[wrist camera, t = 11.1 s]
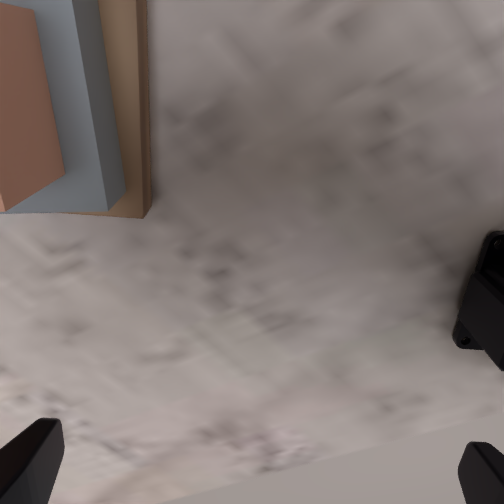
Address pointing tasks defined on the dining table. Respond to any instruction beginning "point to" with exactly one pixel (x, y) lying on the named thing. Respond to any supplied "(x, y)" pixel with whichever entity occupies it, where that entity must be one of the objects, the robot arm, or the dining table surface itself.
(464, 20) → the dining table surface
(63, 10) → the slate top block
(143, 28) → the walnut base block
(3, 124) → the terracotta block
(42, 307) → the dining table surface
